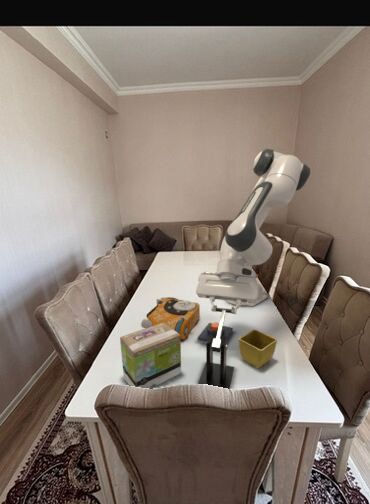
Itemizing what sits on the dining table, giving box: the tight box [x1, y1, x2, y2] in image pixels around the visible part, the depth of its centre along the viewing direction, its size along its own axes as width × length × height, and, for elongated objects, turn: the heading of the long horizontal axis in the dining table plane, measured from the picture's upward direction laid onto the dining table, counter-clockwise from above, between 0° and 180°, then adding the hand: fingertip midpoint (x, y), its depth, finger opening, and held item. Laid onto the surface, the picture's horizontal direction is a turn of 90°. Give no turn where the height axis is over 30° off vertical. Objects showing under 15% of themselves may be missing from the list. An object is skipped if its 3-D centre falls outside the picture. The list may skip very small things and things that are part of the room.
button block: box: [197, 322, 234, 343], centre depth 96 cm, size 12×10×4 cm
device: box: [140, 296, 201, 341], centre depth 108 cm, size 23×8×30 cm
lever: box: [212, 307, 232, 353], centre depth 75 cm, size 15×5×2 cm, turn 162°
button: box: [211, 322, 220, 331], centre depth 96 cm, size 4×4×2 cm
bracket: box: [197, 335, 235, 390], centre depth 73 cm, size 12×9×14 cm
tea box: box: [119, 322, 182, 389], centre depth 74 cm, size 15×10×15 cm, turn 126°
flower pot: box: [238, 329, 278, 369], centre depth 80 cm, size 9×9×9 cm
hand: (223, 312), depth 79 cm, fingers closed on lever, 5 cm apart
